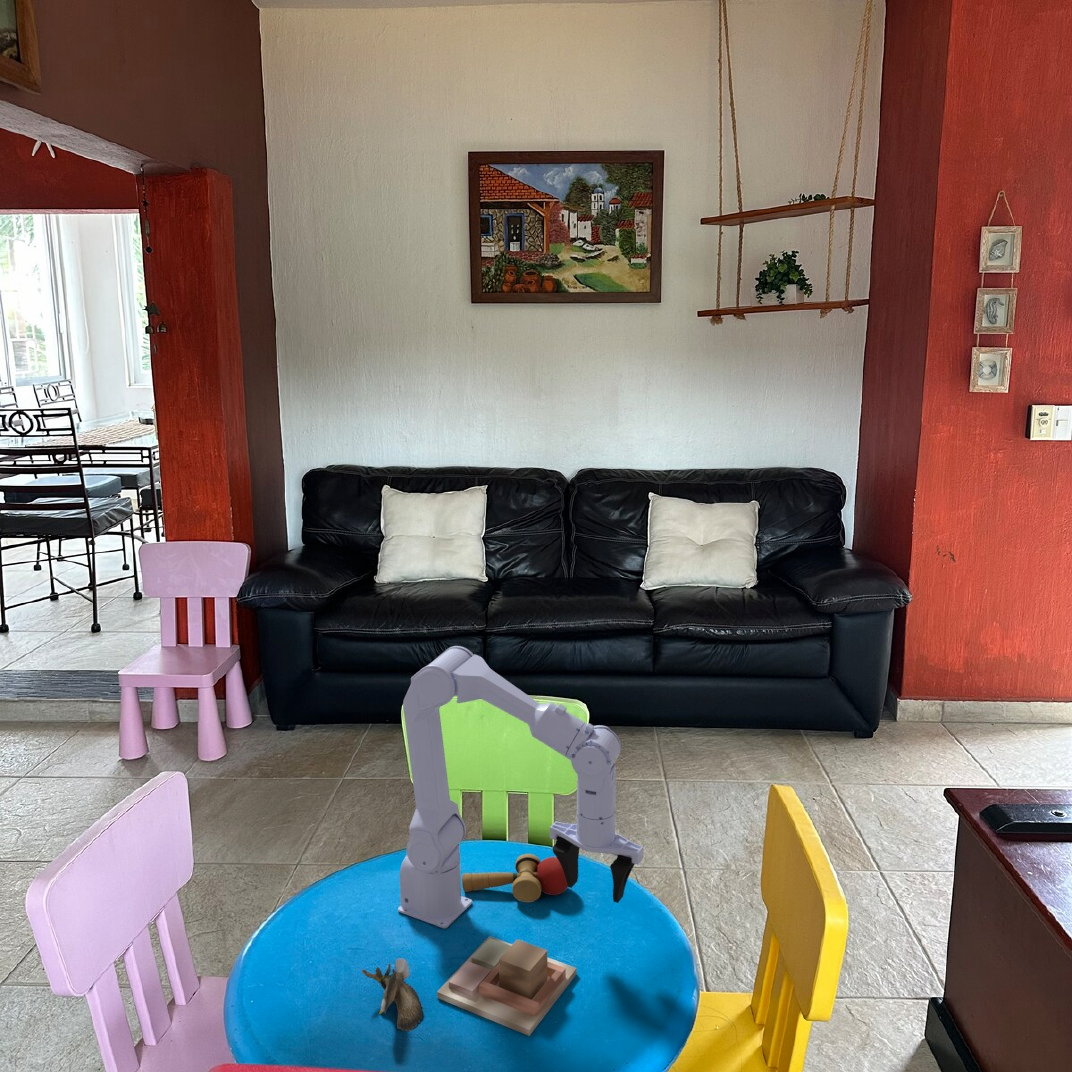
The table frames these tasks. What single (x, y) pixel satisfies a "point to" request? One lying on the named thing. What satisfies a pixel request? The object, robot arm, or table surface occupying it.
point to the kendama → (523, 878)
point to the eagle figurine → (399, 994)
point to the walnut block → (523, 969)
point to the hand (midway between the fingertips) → (595, 891)
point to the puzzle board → (484, 997)
